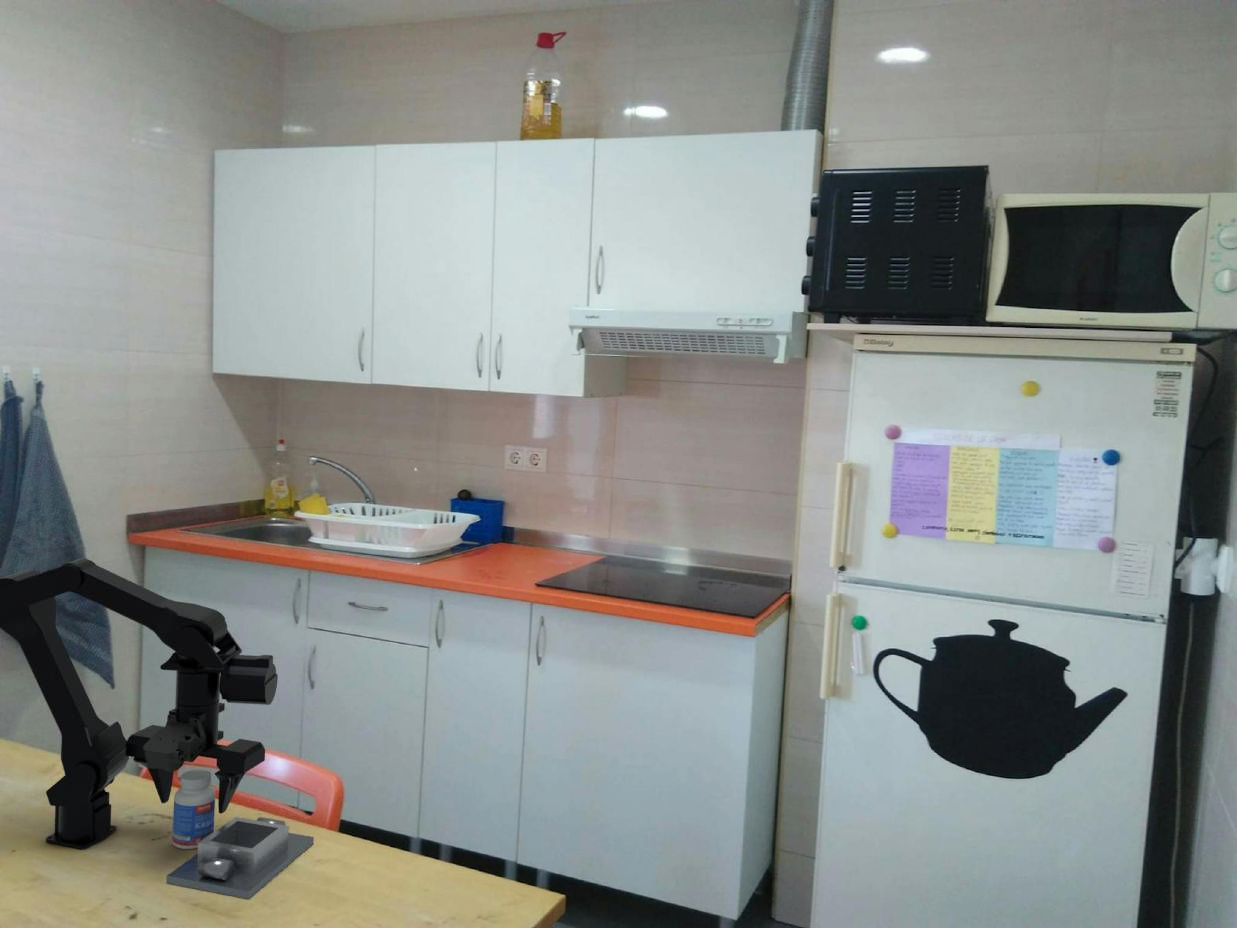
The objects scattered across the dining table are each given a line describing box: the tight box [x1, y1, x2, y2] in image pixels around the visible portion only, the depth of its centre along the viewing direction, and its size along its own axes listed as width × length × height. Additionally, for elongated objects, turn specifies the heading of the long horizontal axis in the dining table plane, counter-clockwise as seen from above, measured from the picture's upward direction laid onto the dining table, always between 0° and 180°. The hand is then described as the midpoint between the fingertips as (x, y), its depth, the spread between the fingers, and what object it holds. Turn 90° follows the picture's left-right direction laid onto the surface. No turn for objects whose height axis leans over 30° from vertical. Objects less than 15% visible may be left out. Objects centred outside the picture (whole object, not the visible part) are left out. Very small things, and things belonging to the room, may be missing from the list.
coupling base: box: [165, 816, 315, 900], centre depth 133 cm, size 12×16×4 cm
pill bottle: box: [171, 769, 216, 850], centre depth 138 cm, size 6×5×10 cm
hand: (193, 807), depth 137 cm, fingers open, 9 cm apart
